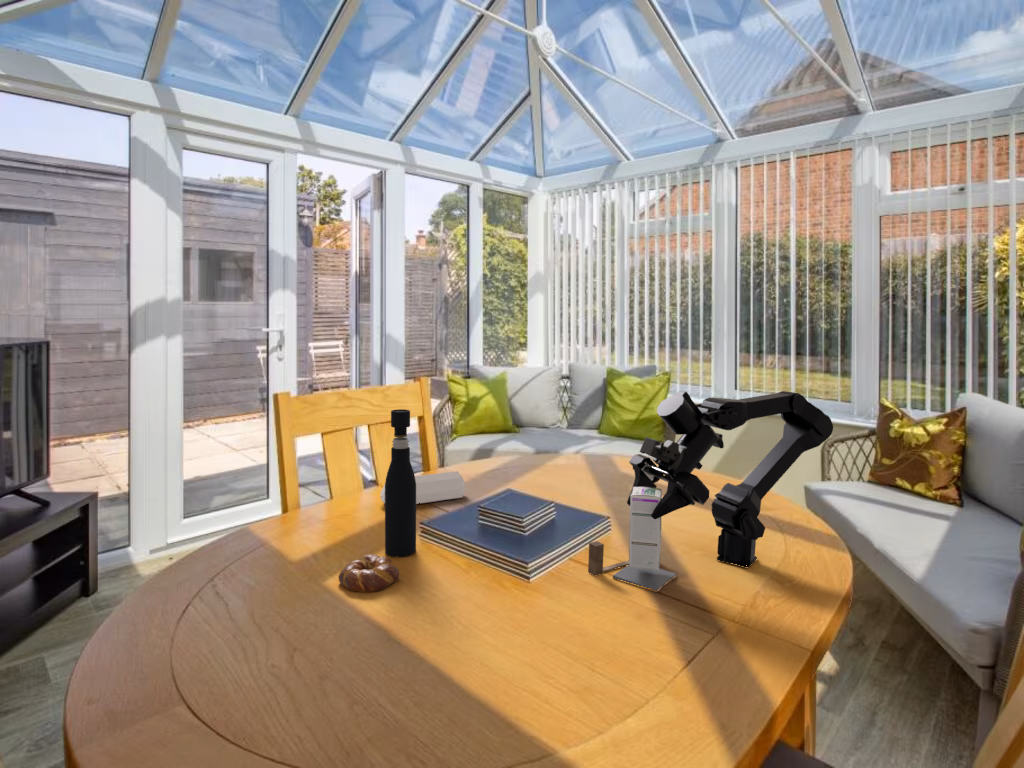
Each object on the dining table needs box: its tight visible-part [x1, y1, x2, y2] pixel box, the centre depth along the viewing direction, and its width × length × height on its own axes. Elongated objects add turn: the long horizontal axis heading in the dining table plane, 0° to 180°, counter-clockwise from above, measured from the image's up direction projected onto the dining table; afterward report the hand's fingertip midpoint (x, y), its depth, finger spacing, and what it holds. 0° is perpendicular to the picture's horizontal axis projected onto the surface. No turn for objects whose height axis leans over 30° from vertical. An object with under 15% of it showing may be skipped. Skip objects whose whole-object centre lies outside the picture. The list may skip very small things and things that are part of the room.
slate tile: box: [612, 565, 677, 591], centre depth 114 cm, size 9×9×1 cm
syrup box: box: [628, 486, 663, 571], centre depth 113 cm, size 6×6×14 cm
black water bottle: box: [384, 408, 417, 558], centre depth 122 cm, size 6×6×30 cm
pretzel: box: [338, 553, 400, 593], centre depth 111 cm, size 12×11×4 cm
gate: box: [587, 540, 629, 577], centre depth 119 cm, size 16×2×6 cm, turn 122°
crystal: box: [380, 470, 466, 505], centre depth 158 cm, size 7×7×24 cm
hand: (640, 511), depth 112 cm, fingers closed on syrup box, 8 cm apart
